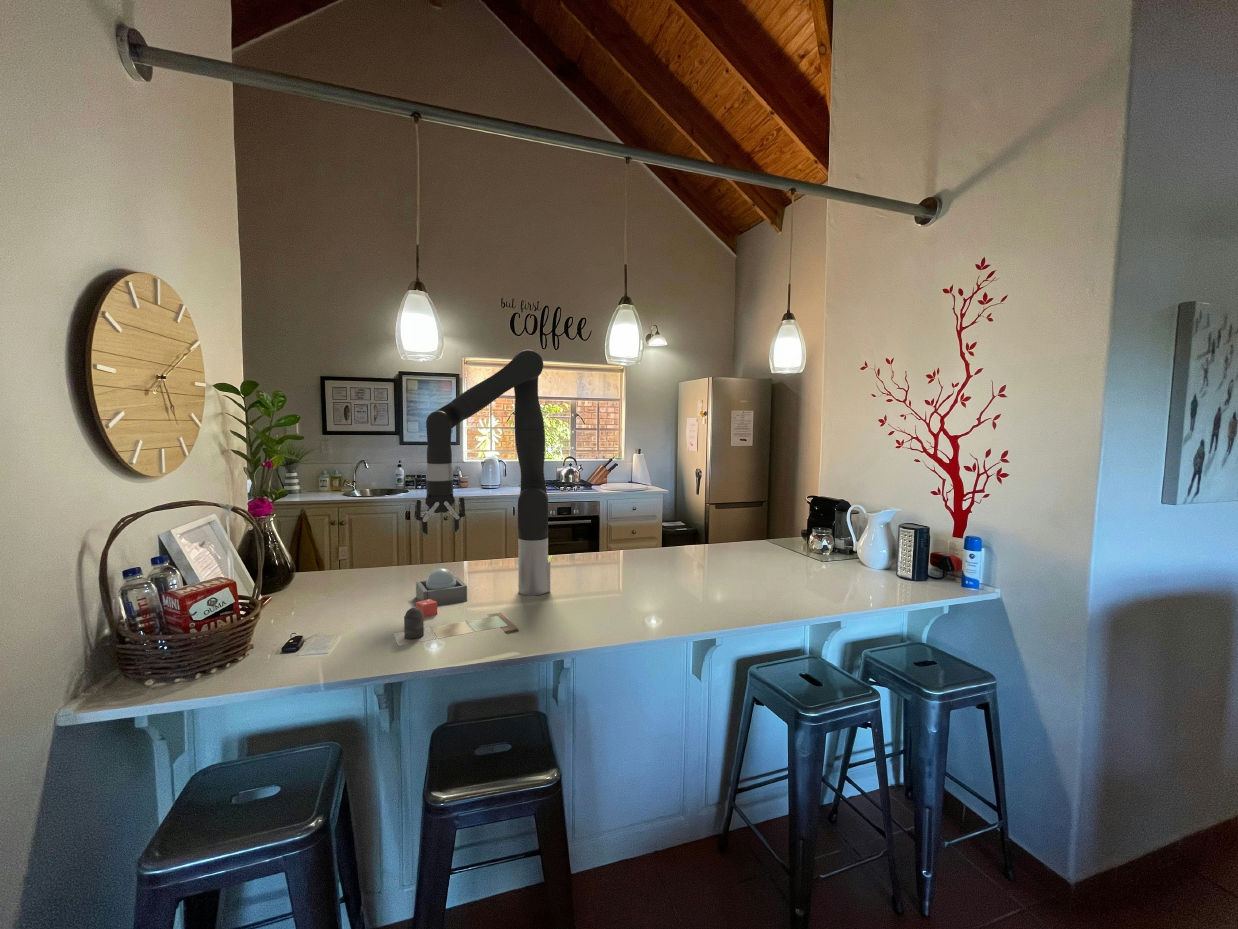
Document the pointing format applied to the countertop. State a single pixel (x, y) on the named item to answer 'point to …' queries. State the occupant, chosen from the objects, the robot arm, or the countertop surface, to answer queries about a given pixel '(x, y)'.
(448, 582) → the dome
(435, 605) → the red die
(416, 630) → the dark grey capsule
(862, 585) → the countertop surface
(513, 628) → the game board
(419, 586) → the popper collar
